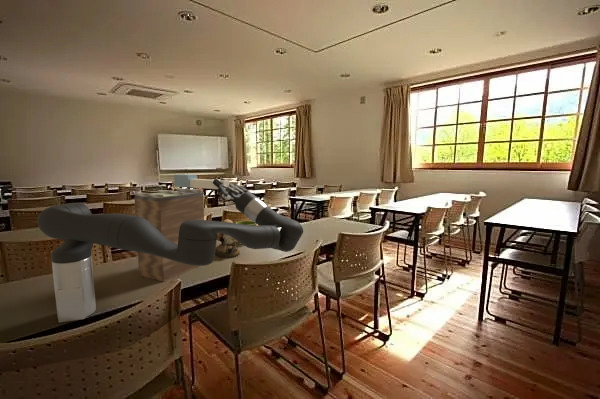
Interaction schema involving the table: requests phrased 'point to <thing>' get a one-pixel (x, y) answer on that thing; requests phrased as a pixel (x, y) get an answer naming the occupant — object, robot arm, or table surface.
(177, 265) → the tall wood grain pillar
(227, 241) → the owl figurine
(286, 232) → the robot arm
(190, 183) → the blue and beige bar
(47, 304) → the table surface
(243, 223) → the plant pot
